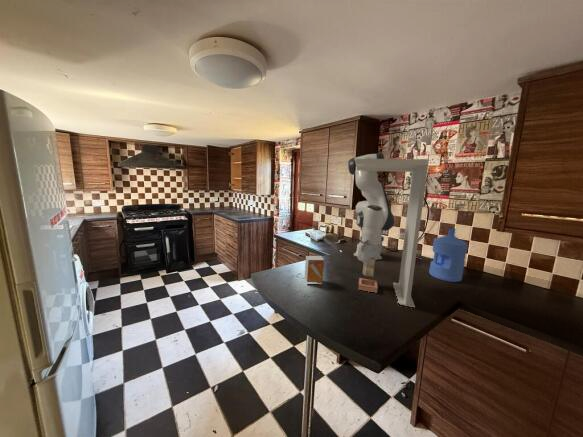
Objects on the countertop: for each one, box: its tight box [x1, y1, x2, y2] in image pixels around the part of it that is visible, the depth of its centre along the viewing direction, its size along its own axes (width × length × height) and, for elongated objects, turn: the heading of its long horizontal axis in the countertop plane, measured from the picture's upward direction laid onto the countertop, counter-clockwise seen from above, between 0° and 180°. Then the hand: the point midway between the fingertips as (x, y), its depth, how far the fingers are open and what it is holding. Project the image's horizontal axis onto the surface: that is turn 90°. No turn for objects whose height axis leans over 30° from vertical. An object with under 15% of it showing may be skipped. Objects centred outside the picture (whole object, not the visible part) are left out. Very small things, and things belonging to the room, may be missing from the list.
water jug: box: [428, 227, 468, 283], centre depth 127 cm, size 16×16×28 cm
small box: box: [304, 255, 325, 284], centre depth 114 cm, size 8×6×13 cm
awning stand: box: [355, 158, 430, 309], centre depth 104 cm, size 22×28×60 cm
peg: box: [362, 258, 376, 277], centre depth 113 cm, size 4×4×9 cm
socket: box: [357, 277, 378, 294], centre depth 110 cm, size 8×8×3 cm
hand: (368, 265), depth 113 cm, fingers closed on peg, 6 cm apart
